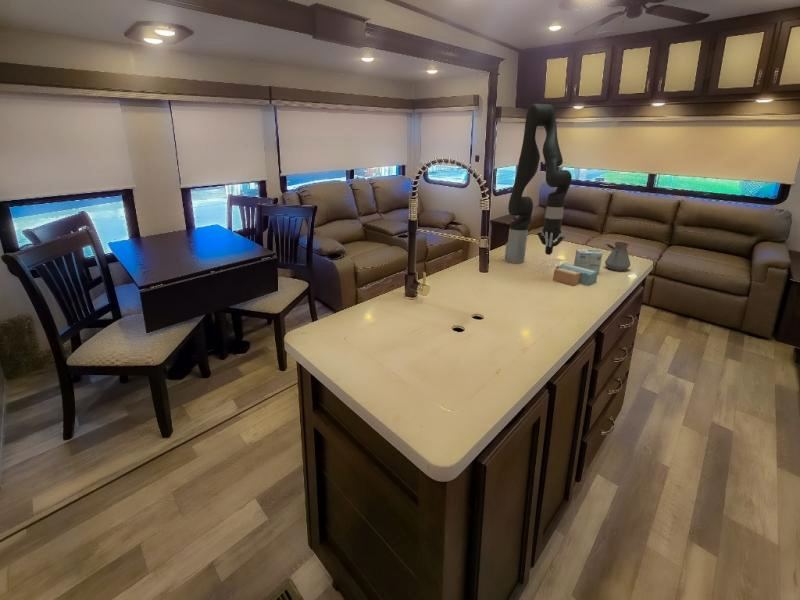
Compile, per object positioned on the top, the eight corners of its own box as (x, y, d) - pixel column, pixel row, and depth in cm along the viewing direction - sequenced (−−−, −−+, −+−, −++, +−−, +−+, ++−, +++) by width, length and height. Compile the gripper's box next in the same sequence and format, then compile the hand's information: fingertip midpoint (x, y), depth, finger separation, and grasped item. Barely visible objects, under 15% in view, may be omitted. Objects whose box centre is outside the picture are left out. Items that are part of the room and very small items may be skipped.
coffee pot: (610, 263, 214) (616, 235, 208) (633, 269, 205) (640, 240, 200) (588, 271, 202) (594, 241, 196) (612, 277, 193) (618, 246, 188)
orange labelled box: (552, 279, 189) (554, 269, 187) (558, 277, 192) (560, 267, 190) (573, 285, 182) (575, 274, 180) (578, 283, 185) (580, 272, 183)
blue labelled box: (554, 276, 194) (556, 266, 192) (563, 273, 199) (565, 263, 197) (587, 285, 183) (589, 274, 181) (596, 281, 188) (598, 271, 186)
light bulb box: (594, 270, 203) (598, 249, 199) (599, 274, 197) (603, 253, 193) (572, 269, 204) (575, 248, 200) (576, 273, 198) (580, 252, 194)
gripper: (535, 215, 186) (531, 252, 193) (563, 219, 177) (557, 258, 183) (544, 213, 191) (540, 250, 197) (571, 217, 182) (565, 255, 188)
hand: (548, 254), depth 190 cm, fingers closed
